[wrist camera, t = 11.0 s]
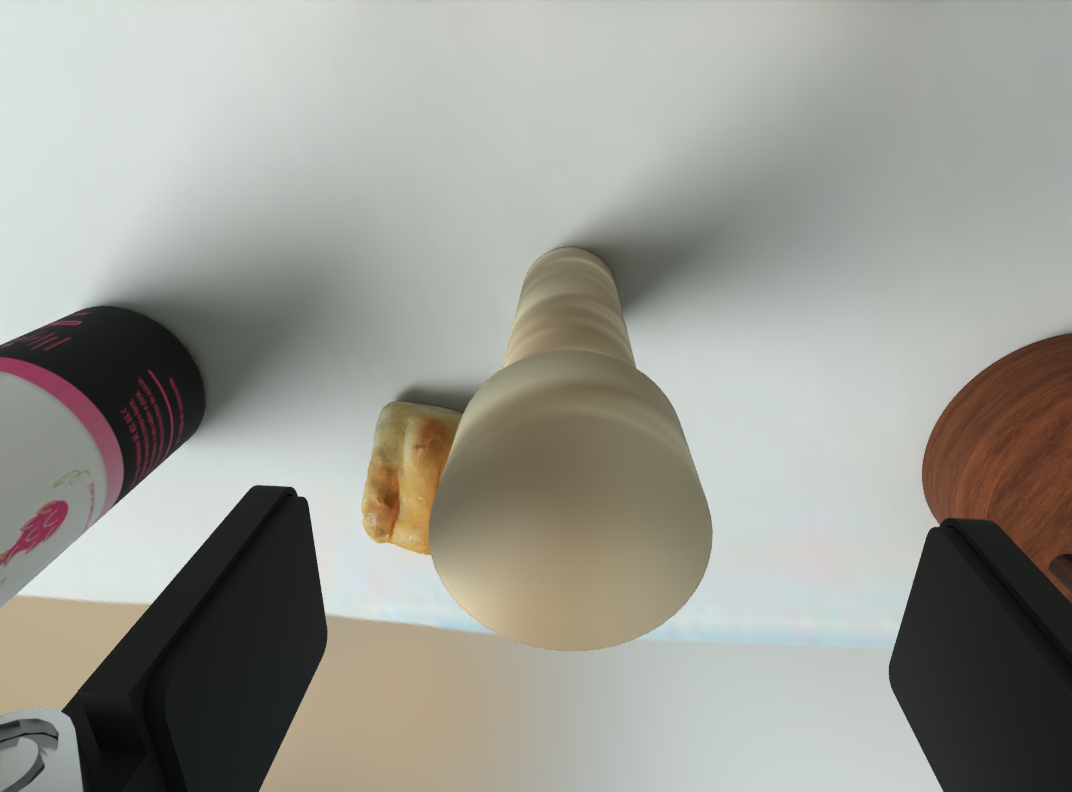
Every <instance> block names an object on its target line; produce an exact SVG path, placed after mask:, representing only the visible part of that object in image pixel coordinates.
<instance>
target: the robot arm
mask: <svg viewBox="0 0 1072 792" xmlns="http://www.w3.org/2000/svg"><path fill="white" fill-rule="evenodd" d="M326 643H327V625H326V618H325V611H324V605H323V598H322V592H321V585H320V578H319V572H318V565H317V558H316V552H315V545H314V539H313V532H312V525H311V519H310V512H309V506H308V502H307V500H306V498H304V497H298V496H297V493H296V491H295V489H294V488H292V487H283V486H262V485H257V486H253V487H252V488H251V489H250V490H249V491H248V492H247V493H246V494H245V496H244V497H243V498H242V499H241V500H240V501H239V503H238V504H237V505H236V506H235V507H234V508H233V510H232V511H231V512H230V513H229V514H228V516H227V517H226V518H225V519H224V520H223V521H222V523H221V524H220V525H219V526H218V527H217V528H216V530H215V531H214V532H213V533H212V534H211V535H210V537H209V538H208V539H207V540H206V541H205V542H204V544H203V545H202V546H201V547H200V548H199V549H198V551H197V552H196V553H195V554H194V555H193V557H192V558H191V559H190V560H189V561H188V562H187V564H186V565H185V566H184V567H183V568H182V569H181V571H180V572H179V573H178V574H177V575H176V576H175V578H174V579H173V580H172V581H171V582H170V583H169V585H168V586H167V587H166V588H165V589H164V591H163V592H162V593H161V594H160V595H159V596H158V598H157V599H156V600H155V601H154V602H153V603H152V605H151V606H150V607H149V608H148V609H147V611H146V612H145V613H144V614H143V615H142V616H141V617H140V619H139V620H138V621H137V622H136V624H135V625H134V626H133V627H132V628H131V629H130V630H129V632H128V633H127V634H126V635H125V636H124V637H123V639H122V640H121V641H120V642H119V643H118V644H117V646H116V647H115V648H114V649H113V650H112V651H111V653H110V654H109V655H108V656H107V657H106V659H105V660H104V661H103V662H102V663H101V664H100V666H99V667H98V668H97V669H96V670H95V672H94V673H93V674H92V675H91V676H90V677H89V678H88V680H87V681H86V682H85V683H84V684H83V685H82V687H81V688H80V689H79V690H78V692H77V693H76V694H75V696H74V697H73V698H72V699H71V700H70V702H69V703H68V704H67V705H66V706H65V708H64V709H63V710H62V711H59V710H55V709H49V708H43V707H38V708H30V709H21V710H17V711H13V712H10V713H7V714H4V715H0V792H259V790H260V788H261V785H262V784H263V781H264V779H265V777H266V775H267V773H268V771H269V769H270V767H271V764H272V762H273V760H274V758H275V756H276V754H277V752H278V750H279V748H280V745H281V743H282V741H283V739H284V737H285V735H286V733H287V730H288V729H289V726H290V724H291V722H292V720H293V718H294V716H295V714H296V712H297V709H298V707H299V705H300V703H301V701H302V699H303V697H304V695H305V693H306V691H307V688H308V686H309V684H310V682H311V680H312V678H313V675H314V674H315V671H316V669H317V667H318V665H319V663H320V661H321V659H322V657H323V654H324V652H325V648H326ZM889 679H890V684H891V687H892V690H893V692H894V694H895V696H896V698H897V700H898V702H899V704H900V706H901V708H902V710H903V712H904V714H905V716H906V718H907V720H908V722H909V724H910V726H911V728H912V730H913V732H914V734H915V736H916V738H917V740H918V742H919V744H920V746H921V748H922V750H923V752H924V754H925V756H926V758H927V760H928V762H929V764H930V766H931V768H932V770H933V772H934V774H935V776H936V778H937V780H938V782H939V784H940V785H941V788H942V789H943V791H944V792H1072V603H1071V602H1070V601H1069V600H1068V599H1067V598H1066V597H1065V596H1064V595H1063V594H1062V593H1061V592H1060V591H1059V589H1058V588H1057V587H1056V586H1055V585H1054V584H1053V583H1052V582H1051V581H1050V580H1049V579H1048V578H1047V577H1046V576H1045V575H1044V573H1043V572H1042V571H1041V570H1040V569H1039V568H1038V567H1037V566H1036V565H1035V564H1034V563H1033V562H1032V561H1031V560H1030V559H1029V557H1028V556H1027V555H1026V554H1025V553H1024V552H1023V551H1022V550H1021V549H1020V548H1019V547H1018V546H1017V545H1016V544H1015V543H1014V541H1013V540H1012V539H1011V538H1010V537H1009V536H1008V535H1007V534H1006V533H1005V532H1004V531H1003V530H1002V529H1001V528H1000V527H999V525H997V524H996V523H995V522H994V521H991V520H986V519H965V518H947V519H945V520H944V521H943V522H942V523H941V524H940V526H939V527H934V528H931V530H930V531H929V532H928V535H927V537H926V541H925V544H924V547H923V551H922V554H921V558H920V561H919V565H918V568H917V571H916V575H915V578H914V582H913V585H912V588H911V592H910V595H909V599H908V602H907V605H906V609H905V612H904V616H903V619H902V623H901V626H900V629H899V633H898V636H897V640H896V643H895V646H894V650H893V653H892V657H891V660H890V664H889Z"/></svg>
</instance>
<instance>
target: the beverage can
mask: <svg viewBox="0 0 1072 792" xmlns="http://www.w3.org/2000/svg"><path fill="white" fill-rule="evenodd" d="M205 404H206V392H205V385H204V381H203V378H202V374H201V372H200V369H199V367H198V365H197V363H196V361H195V359H194V358H193V356H192V355H191V353H190V352H189V350H188V349H187V348H186V346H185V345H184V344H183V343H182V342H181V341H180V340H179V339H178V338H177V337H176V336H175V335H174V334H173V333H172V332H171V331H170V330H168V329H167V328H166V327H164V326H163V325H161V324H160V323H159V322H157V321H155V320H153V319H152V318H150V317H148V316H146V315H143V314H141V313H138V312H136V311H133V310H129V309H125V308H120V307H112V306H99V307H91V308H87V309H83V310H80V311H78V312H75V313H73V314H71V315H68V316H66V317H64V318H62V319H59V320H57V321H55V322H52V323H50V324H48V325H45V326H43V327H41V328H39V329H36V330H34V331H32V332H29V333H27V334H25V335H23V336H20V337H18V338H16V339H13V340H11V341H9V342H7V343H4V344H2V345H0V608H1V607H2V606H3V605H4V604H5V603H7V602H8V601H9V600H10V599H11V598H12V597H13V596H14V595H16V594H17V593H18V592H19V591H20V590H21V589H22V588H23V587H24V586H26V585H27V584H28V583H29V582H30V581H31V580H32V579H33V578H34V577H36V576H37V575H38V574H39V573H40V572H41V571H42V570H43V569H44V568H46V567H47V566H48V565H49V564H50V563H51V562H52V561H53V560H55V559H56V558H57V557H58V556H59V555H60V554H61V553H62V552H63V551H65V550H66V549H67V548H68V547H69V546H70V545H71V544H72V543H73V542H75V541H76V540H77V539H78V538H79V537H80V536H81V535H82V534H83V533H85V532H86V531H87V530H88V529H89V528H90V527H91V526H92V525H93V524H95V523H96V522H97V521H98V520H99V519H100V518H101V517H102V516H103V515H105V514H106V513H107V512H108V511H109V510H110V509H111V508H112V507H113V506H115V505H116V504H117V503H118V502H119V501H120V500H121V499H122V498H123V497H125V496H126V495H127V494H128V493H129V492H130V491H131V490H132V489H133V488H135V487H136V486H137V485H138V484H139V483H140V482H141V481H142V480H143V479H145V478H146V477H147V476H148V475H149V474H150V473H151V472H152V471H153V470H155V469H156V468H157V467H158V466H159V465H160V464H161V463H162V462H163V461H165V460H166V459H167V458H168V457H169V456H170V455H171V454H172V453H173V452H175V451H176V450H177V449H178V448H179V447H180V446H181V445H182V444H183V443H185V442H186V441H187V440H188V439H189V438H190V437H191V436H192V435H193V434H194V433H195V431H196V430H197V428H198V427H199V425H200V423H201V420H202V418H203V415H204V411H205Z"/></svg>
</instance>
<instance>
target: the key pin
mask: <svg viewBox="0 0 1072 792" xmlns="http://www.w3.org/2000/svg"><path fill="white" fill-rule="evenodd" d="M712 533H713V532H712V522H711V515H710V511H709V508H708V504H707V500H706V497H705V494H704V492H703V489H702V486H701V483H700V480H699V477H698V474H697V471H696V468H695V465H694V462H693V459H692V456H691V453H690V450H689V447H688V445H687V442H686V439H685V436H684V433H683V430H682V427H681V424H680V421H679V419H678V417H677V414H676V412H675V410H674V408H673V406H672V404H671V403H670V401H669V400H668V398H667V397H666V395H665V394H664V393H663V392H662V391H661V389H660V388H659V387H658V386H657V385H656V384H655V383H654V382H653V381H652V380H651V379H649V378H648V377H647V376H646V375H645V374H643V373H642V372H640V371H639V370H637V369H636V365H635V361H634V357H633V353H632V349H631V345H630V341H629V337H628V333H627V329H626V325H625V321H624V317H623V313H622V309H621V305H620V301H619V297H618V293H617V289H616V284H615V281H614V277H613V275H612V273H611V271H610V269H609V268H608V266H607V265H606V264H605V262H604V261H603V260H602V259H600V258H599V257H598V256H597V255H595V254H593V253H592V252H590V251H587V250H584V249H581V248H576V247H563V248H558V249H555V250H552V251H550V252H547V253H546V254H544V255H542V256H541V257H540V258H539V259H537V260H536V261H535V262H534V264H533V265H532V266H531V267H530V269H529V270H528V272H527V274H526V277H525V280H524V283H523V287H522V291H521V295H520V299H519V303H518V307H517V311H516V316H515V320H514V324H513V328H512V332H511V336H510V340H509V344H508V348H507V352H506V356H505V360H504V364H503V369H502V370H500V371H498V372H497V373H496V374H495V375H493V376H492V377H491V378H490V379H488V380H487V381H486V382H485V383H484V384H483V385H482V386H481V387H480V389H479V390H478V391H477V392H476V393H475V395H474V396H473V398H472V399H471V400H470V402H469V403H468V405H467V407H466V409H465V411H464V413H463V415H462V418H461V421H460V424H459V427H458V430H457V433H456V436H455V439H454V442H453V445H452V448H451V451H450V454H449V457H448V460H447V462H446V465H445V468H444V471H443V474H442V477H441V480H440V483H439V486H438V489H437V492H436V495H435V498H434V501H433V504H432V507H431V513H430V519H429V545H430V552H431V556H432V559H433V562H434V566H435V569H436V571H437V573H438V575H439V577H440V579H441V581H442V583H443V585H444V586H445V588H446V589H447V591H448V592H449V594H450V595H451V596H452V598H453V599H454V600H455V601H456V602H457V603H458V605H459V606H460V607H461V608H462V609H463V610H464V611H466V612H467V613H468V614H469V615H470V616H471V617H472V618H473V619H475V620H476V621H478V622H479V623H481V624H482V625H483V626H485V627H486V628H488V629H490V630H492V631H494V632H495V633H497V634H499V635H501V636H504V637H506V638H508V639H511V640H513V641H515V642H519V643H522V644H525V645H529V646H532V647H537V648H542V649H547V650H557V651H587V650H596V649H602V648H607V647H612V646H616V645H619V644H622V643H625V642H628V641H631V640H634V639H636V638H638V637H640V636H643V635H645V634H647V633H649V632H650V631H652V630H654V629H655V628H657V627H659V626H660V625H662V624H663V623H664V622H666V621H667V620H668V619H670V618H671V617H672V616H673V615H675V614H676V613H677V612H678V611H679V610H680V609H681V608H682V607H683V606H684V605H685V604H686V602H687V601H688V600H689V598H690V597H691V596H692V595H693V593H694V592H695V590H696V589H697V587H698V585H699V583H700V582H701V580H702V578H703V576H704V573H705V570H706V568H707V565H708V562H709V558H710V553H711V548H712Z"/></svg>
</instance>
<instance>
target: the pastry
mask: <svg viewBox="0 0 1072 792" xmlns="http://www.w3.org/2000/svg"><path fill="white" fill-rule="evenodd" d="M462 415H463V413H462V412H458V411H456V410H453V409H448V408H443V407H439V406H431V405H427V404H420V403H418V404H414V403H411V402H402V401H393V402H391V403H389V404H387V405H386V406H385V407H384V408H383V409H382V410H381V412H380V415H379V419H378V422H377V424H376V429H375V433H374V438H373V443H374V447H373V450H372V458H371V461H370V464H369V468H368V475H367V480H366V483H365V489H364V495H363V500H362V514H363V517H364V519H363V526H364V529H365V532H366V533H367V534H368V536H370V537H371V538H372V539H373V540H374V541H376V542H377V543H385V542H388V543H391V544H394V545H397V546H400V547H402V548H405V549H407V550H411V551H414V552H417V553H423V554H426V555H431V552H430V545H429V519H430V513H431V507H432V504H433V501H434V498H435V495H436V492H437V489H438V486H439V483H440V480H441V477H442V474H443V471H444V468H445V465H446V462H447V460H448V457H449V454H450V451H451V448H452V445H453V442H454V439H455V436H456V433H457V430H458V427H459V424H460V421H461V418H462Z"/></svg>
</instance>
